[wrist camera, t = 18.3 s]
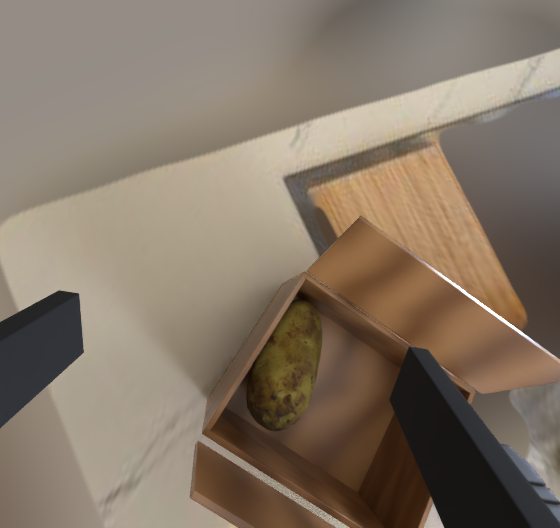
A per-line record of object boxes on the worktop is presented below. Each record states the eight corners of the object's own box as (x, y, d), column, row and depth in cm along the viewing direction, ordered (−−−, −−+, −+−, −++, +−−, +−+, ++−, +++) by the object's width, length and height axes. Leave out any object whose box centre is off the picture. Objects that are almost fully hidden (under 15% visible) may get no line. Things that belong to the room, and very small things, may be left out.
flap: (359, 218, 20) (360, 215, 20) (306, 271, 26) (307, 268, 26) (581, 378, 21) (579, 373, 22) (482, 394, 27) (481, 390, 27)
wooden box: (202, 407, 31) (180, 510, 15) (283, 283, 36) (337, 253, 19) (353, 504, 33) (491, 700, 16) (413, 373, 37) (570, 418, 20)
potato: (340, 337, 35) (373, 343, 28) (271, 424, 32) (287, 458, 24) (293, 292, 35) (313, 285, 28) (218, 374, 32) (218, 392, 24)
